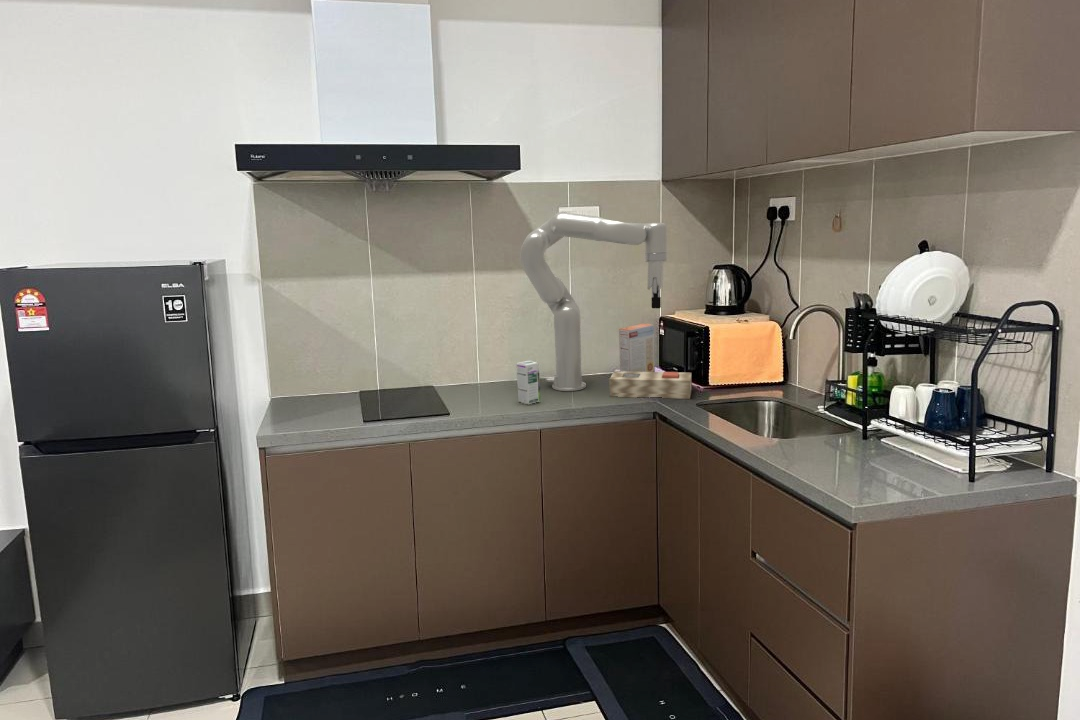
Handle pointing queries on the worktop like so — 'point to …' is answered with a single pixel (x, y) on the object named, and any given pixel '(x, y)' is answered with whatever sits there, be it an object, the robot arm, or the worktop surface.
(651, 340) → the cracker box
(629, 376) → the grey cube
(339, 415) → the worktop surface
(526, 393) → the syrup box
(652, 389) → the beige woven basket
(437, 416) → the worktop surface
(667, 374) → the red cube
